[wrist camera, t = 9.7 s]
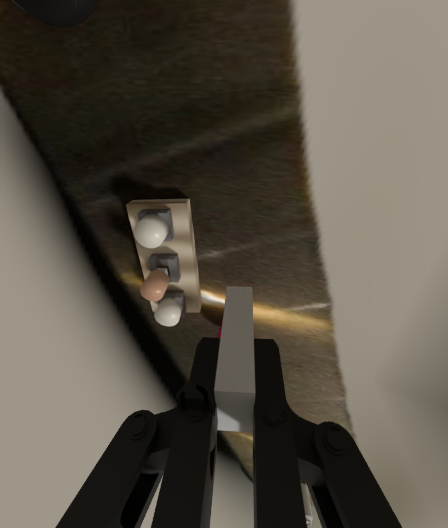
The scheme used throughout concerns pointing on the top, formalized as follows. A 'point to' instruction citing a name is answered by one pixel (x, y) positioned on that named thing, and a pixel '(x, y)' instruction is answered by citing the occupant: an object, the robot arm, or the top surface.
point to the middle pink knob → (155, 284)
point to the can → (306, 504)
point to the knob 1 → (151, 231)
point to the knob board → (171, 250)
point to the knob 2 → (168, 312)
